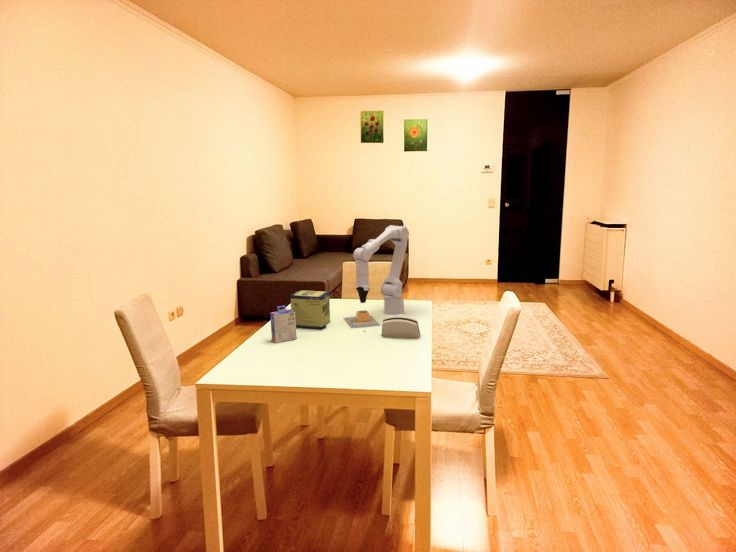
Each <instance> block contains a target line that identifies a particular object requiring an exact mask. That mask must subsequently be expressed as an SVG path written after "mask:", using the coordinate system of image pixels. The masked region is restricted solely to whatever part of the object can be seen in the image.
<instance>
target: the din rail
mask: <svg viewBox="0 0 736 552" xmlns="http://www.w3.org/2000/svg"><path fill="white" fill-rule="evenodd" d="M373 318H374V317H373V316H372V317H371V318H369V321H368V322H357V319H350V323H351V325H352V326H353V327H360V326H371V325H377V322H378V321H377V320H376V321H374V319H375V318H374V319H373Z"/></svg>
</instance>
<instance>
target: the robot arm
mask: <svg viewBox="0 0 736 552" xmlns="http://www.w3.org/2000/svg"><path fill="white" fill-rule="evenodd" d="M409 235H410V231H409V229H408V227H406V226H405V225H400V226H399V225H391V224H390V225H388V226H387V227H386V228H384V231H383V232H382V233H381V234H379V236H377V237H376V238H375V239H374V238H372V239H371V238H370V239H369V240H368V241H367V242H366V243H365V244H362V245H361V247H357V248H356V249H355V250H354V251H353V254H352V257H353V259H354V263H355V278H356V279H355V281H356V283H355V282H354V283H353V286H354V287H355V289H356V292H357V293H358V297H359V302H360V304H365V303H366V301H367V298H368V297H367V296H368V294H369V291H370V288H369V286H370V282H369V281H370V279H369V277H370V276H369V261H370V259H371V258H372V255H373V254H374V253H376V252H377V251H378V250H379V249H380V247H381V245H382V244H384V243H385V242H387V241H389V240H390V241H391V242H392V243H393V245H394V251H393V255H392V259H391V264H390V267H389V273H388V276H387V277H386V278H384V279H383V283H382V284H381V286H380V293H381V294H382V297H383V302H384V303H383V308H384V309H383V310H384V311H383V312H384V314H385V315H387V316H388V315H390V316H393V315H394V316H395V315H400V314H401V315H402V314H403V315H405V301H404V297H403V296H402V293H403V282H402V281H401V280H400V277H401V273H402V268H403V265H404V259H405V256H406V255H405V254H406V251H407V247H408V241H409Z"/></svg>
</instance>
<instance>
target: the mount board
mask: <svg viewBox="0 0 736 552" xmlns="http://www.w3.org/2000/svg"><path fill="white" fill-rule="evenodd" d="M371 317H373V316H372V315H369V318H371ZM342 319H343V320H344V321H345V323H346V324H347V325H348V327H349V328H350V329H359V328H360V329H361V328H372V327H382V324H380V323H379V322H378V321H377V320H376V319H375V318H374V317H373V319H374V321H377V325H371V326H360V327H353V326H352V325H351V323H350V319H357V317H356V316H351V317H350V316H348V317H343V318H342Z"/></svg>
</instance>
